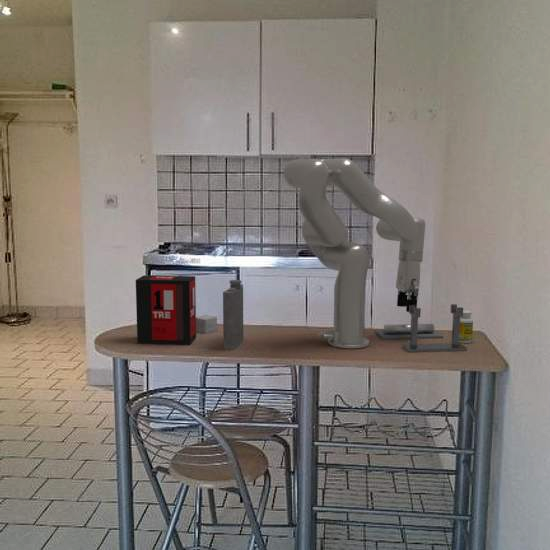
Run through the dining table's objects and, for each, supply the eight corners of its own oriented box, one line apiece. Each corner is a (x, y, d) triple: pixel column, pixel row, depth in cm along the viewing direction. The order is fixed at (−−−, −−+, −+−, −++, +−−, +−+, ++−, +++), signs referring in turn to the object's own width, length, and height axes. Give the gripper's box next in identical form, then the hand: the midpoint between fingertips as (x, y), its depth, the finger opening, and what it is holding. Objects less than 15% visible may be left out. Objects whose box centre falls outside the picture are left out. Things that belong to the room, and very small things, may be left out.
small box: (205, 328, 218) (205, 314, 218) (217, 331, 215) (217, 316, 214) (193, 331, 214) (193, 317, 213) (205, 334, 211) (205, 319, 210)
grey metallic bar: (386, 334, 207) (386, 325, 207) (383, 333, 210) (383, 324, 210) (434, 333, 209) (434, 324, 209) (430, 332, 212) (430, 323, 212)
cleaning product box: (196, 338, 205) (195, 276, 202) (190, 345, 196) (189, 280, 193) (145, 336, 206) (143, 275, 203) (137, 343, 198) (135, 279, 195)
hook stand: (408, 352, 189) (410, 309, 188) (402, 346, 195) (403, 304, 193) (466, 350, 191) (469, 307, 189) (459, 345, 197) (461, 303, 195)
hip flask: (234, 337, 206) (234, 276, 203) (247, 338, 205) (246, 276, 202) (222, 350, 190) (221, 284, 187) (235, 351, 190) (235, 284, 187)
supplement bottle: (462, 338, 206) (463, 308, 205) (475, 341, 202) (477, 311, 200) (450, 340, 203) (452, 310, 202) (464, 344, 199) (465, 313, 197)
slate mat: (382, 339, 204) (382, 337, 204) (375, 332, 213) (375, 330, 213) (443, 337, 207) (443, 336, 206) (433, 331, 215) (433, 329, 215)
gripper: (391, 253, 214) (387, 304, 216) (407, 258, 197) (403, 313, 199) (413, 254, 215) (409, 304, 217) (431, 259, 198) (426, 314, 200)
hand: (406, 309), depth 208 cm, fingers open, 9 cm apart
